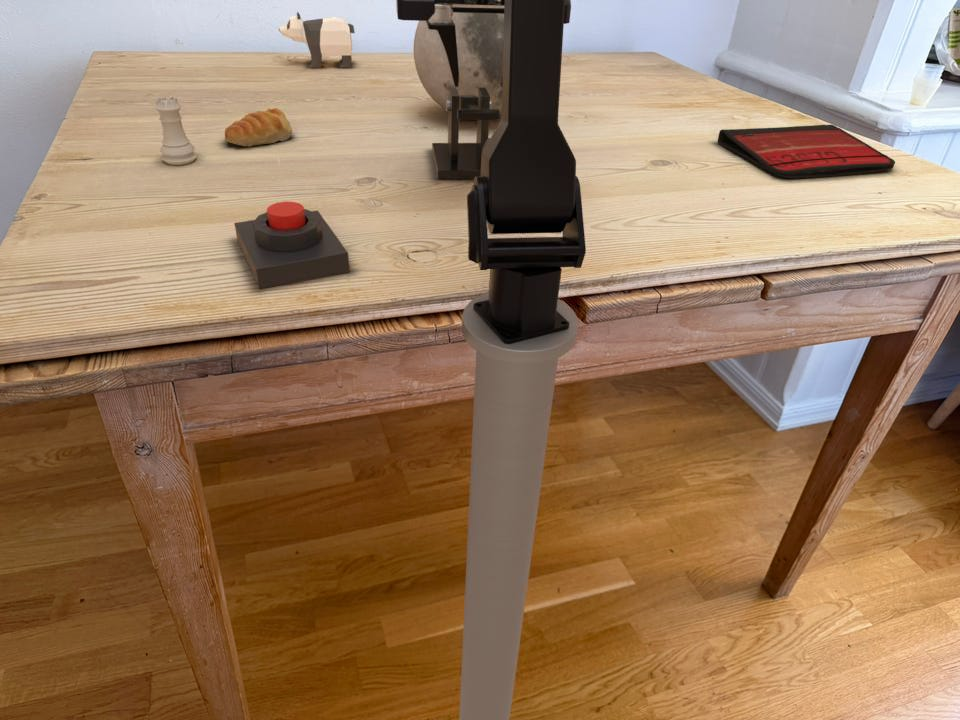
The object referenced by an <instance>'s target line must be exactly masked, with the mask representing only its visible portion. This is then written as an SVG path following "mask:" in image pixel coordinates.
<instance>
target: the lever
mask: <svg viewBox="0 0 960 720" xmlns="http://www.w3.org/2000/svg"><path fill="white" fill-rule="evenodd" d="M500 116H501V114H500V111H499V109H481V108H479V107H478V97H477V96H476V95H460V99H459V109H458V110H457V119H458V120H459V121H477V120H489V121H499V120H500Z"/></svg>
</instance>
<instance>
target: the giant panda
mask: <svg viewBox="0 0 960 720" xmlns="http://www.w3.org/2000/svg"><path fill="white" fill-rule="evenodd" d="M278 32H280V34H281V35H282V36H284V37H286V38H288V39H291V40H292V41H293V42H298V43H304V44H306V46H307V48H308V50H309V53H310V59H309V61H308V63H309V64H308V68H310V69H318V68H322V67H323V64H322V63H323V56H328V57H338V56H341V59H339V60H338V68H342V69H343V68H352V65H353V63H352V62H353V60H352V59H353V58H352V54H353V40H352V34H355V33H356V32H355V26H354V25H353V24H352V23H349V22H347V21H346V19H343V18H342V17H334V16H331V17H324V18H316V19H309V20H307V19H306V20H303V19H302V18H301V14H300V12H298V11H296V15H292V16H290V17H289V18H288V20H287V22H286V23H285V24H284V25H282V26H279V27H278Z"/></svg>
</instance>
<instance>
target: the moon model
mask: <svg viewBox="0 0 960 720" xmlns="http://www.w3.org/2000/svg"><path fill="white" fill-rule="evenodd" d="M451 18H452V20H453V22H454V24H455V29H456V41H457V54H458V67H459V85H458V87H456V89H457V92H458V94H459V99H460V95H476V96H477V97H478V88H479V87H480V88H486V89H487V91H488V93H489V95H490V100H491V102H492V109H499V111H500V115H502V87H501V86H500V71H501V64H502V57H503V43H504V14H501V13H459V12H453V16H451ZM413 38H414V39H413V60H414V65H415V70H416V73H417V76H418V78H419V81H420V83H421V85H422V87H423V88H424V90H425V91H426V93H427V94H428V95H429V96H430V98H431V99H432V100H433V101H434V102H435V103H436V104H437V105H438V106H439V107H440V108H442V109H444V110H445V111H446V100H449V87H455V85H454V82H453V78H452V74H451V70H450V67H449V63H448V59H447V55H446V52H445V48H444V46H443V43H442V41H441V38H440V36H439V33H438V31H437V30H431V29H428V27H427V24H426V21H417V25H416V28H415V33H414V37H413Z"/></svg>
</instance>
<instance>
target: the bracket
mask: <svg viewBox="0 0 960 720" xmlns="http://www.w3.org/2000/svg"><path fill="white" fill-rule="evenodd" d="M478 107H479V108H481V109H492V102H491V100H490V95H489V93H488V91H487V89H486V88H480V87H479V88H478ZM458 109H459V94H458V92H457V89H456V87H449V100H446V110H445V111H446V112H448V113H447V116H448V117H447V119H448V120H447V123H448V125H447V142H432V143H431V152H432V157H433V162H434V167H435V171H436V176H437V180H474V179H475V177H481V155H482V149H483V146H484V144H485V142H486V140H487V139H488V138H489V131H490V120H476V142H459V136H460V134H459V133H460V129H459V128H460V120H458V119H457V110H458Z"/></svg>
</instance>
